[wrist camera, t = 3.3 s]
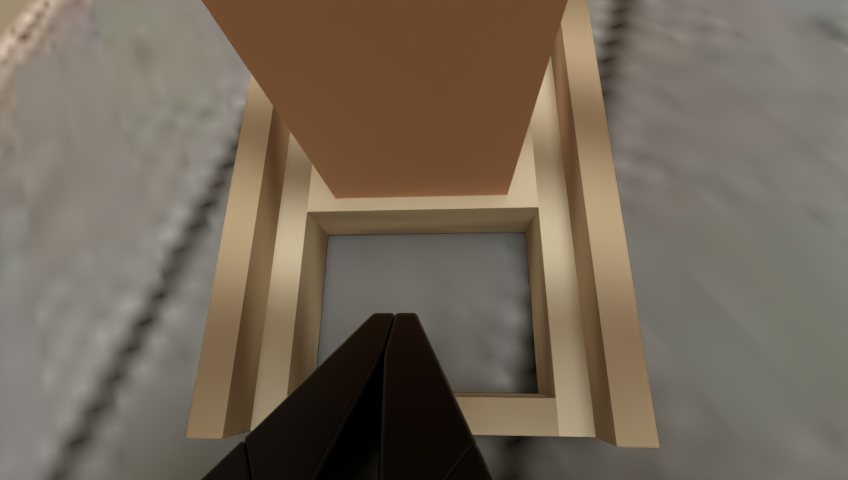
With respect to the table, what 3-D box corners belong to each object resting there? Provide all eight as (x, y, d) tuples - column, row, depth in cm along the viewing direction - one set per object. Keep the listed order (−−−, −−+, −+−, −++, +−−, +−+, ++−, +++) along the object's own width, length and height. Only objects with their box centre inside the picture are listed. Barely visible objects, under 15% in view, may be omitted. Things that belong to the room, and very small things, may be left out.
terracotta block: (507, 194, 14) (600, -105, 5) (335, 198, 14) (151, -74, 5) (498, 55, 15) (555, -336, 7) (347, 62, 16) (225, -299, 7)
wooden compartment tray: (600, 426, 13) (659, 447, 10) (257, 420, 14) (185, 437, 10) (531, -143, 23) (546, -245, 19) (327, -127, 24) (304, -222, 20)
